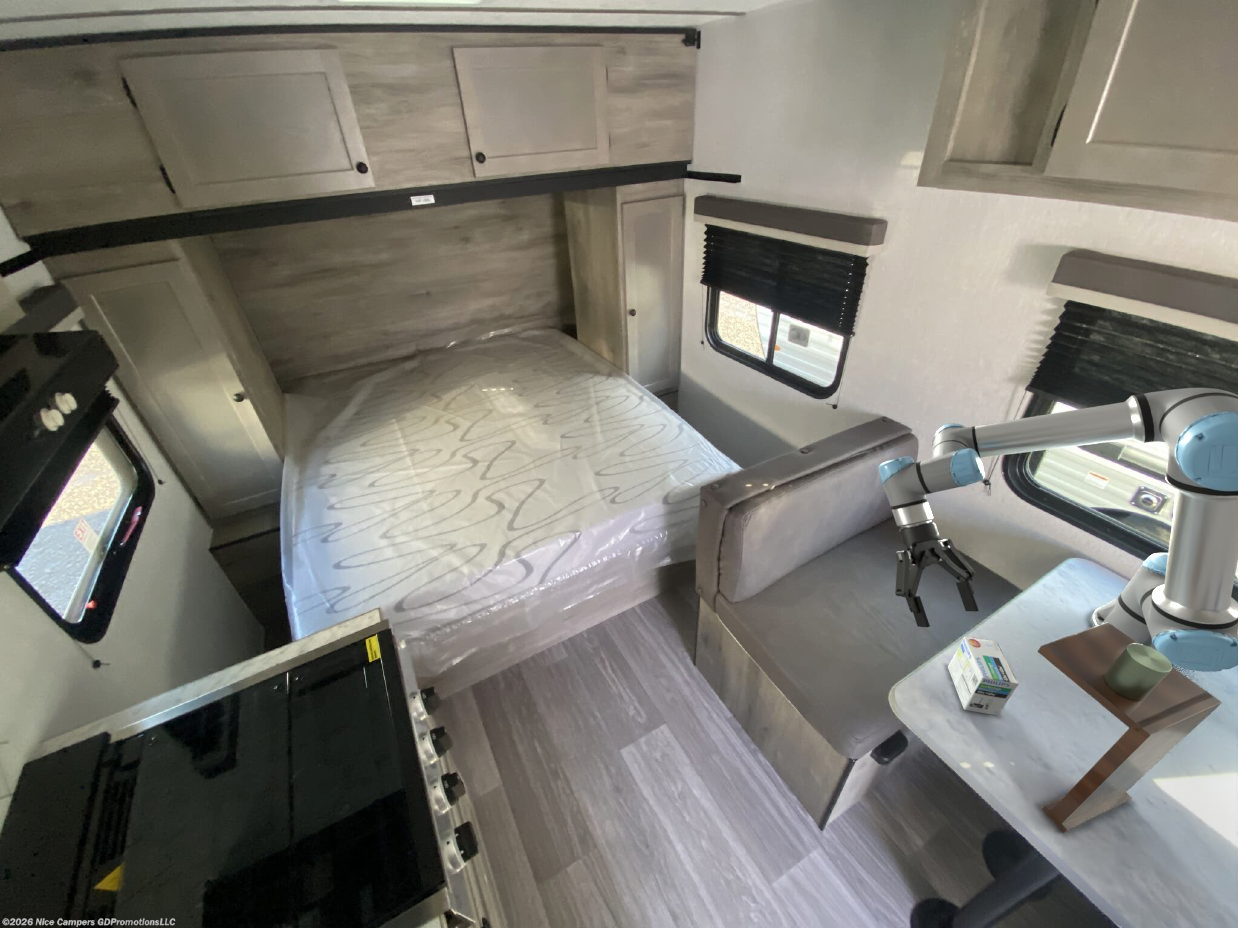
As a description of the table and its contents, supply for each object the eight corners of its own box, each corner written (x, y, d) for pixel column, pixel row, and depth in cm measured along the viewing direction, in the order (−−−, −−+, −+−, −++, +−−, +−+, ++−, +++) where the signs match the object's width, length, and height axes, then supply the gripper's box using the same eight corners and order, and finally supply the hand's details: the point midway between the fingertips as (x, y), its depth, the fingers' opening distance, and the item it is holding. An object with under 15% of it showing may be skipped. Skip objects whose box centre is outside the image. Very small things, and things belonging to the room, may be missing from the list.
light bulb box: (998, 716, 105) (1021, 684, 99) (962, 710, 106) (982, 678, 100) (978, 671, 113) (998, 639, 108) (945, 666, 115) (963, 634, 109)
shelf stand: (1036, 715, 105) (1129, 593, 86) (1128, 801, 91) (1263, 679, 72) (977, 739, 101) (1060, 617, 82) (1064, 833, 87) (1188, 713, 68)
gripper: (945, 515, 123) (977, 604, 119) (859, 537, 117) (890, 632, 113) (972, 511, 116) (1007, 605, 112) (882, 534, 109) (916, 634, 105)
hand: (948, 618), depth 112 cm, fingers open, 13 cm apart
